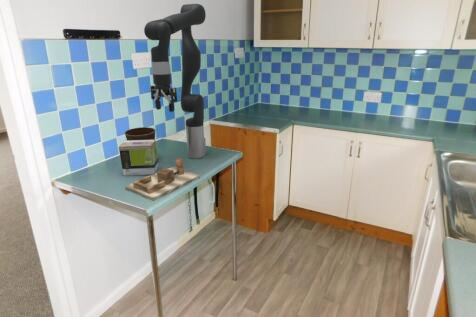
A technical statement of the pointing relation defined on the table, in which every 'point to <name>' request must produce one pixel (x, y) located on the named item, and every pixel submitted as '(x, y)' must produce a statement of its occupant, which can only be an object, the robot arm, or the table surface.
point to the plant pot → (140, 134)
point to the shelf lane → (160, 184)
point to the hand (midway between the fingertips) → (165, 110)
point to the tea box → (139, 157)
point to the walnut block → (171, 172)
